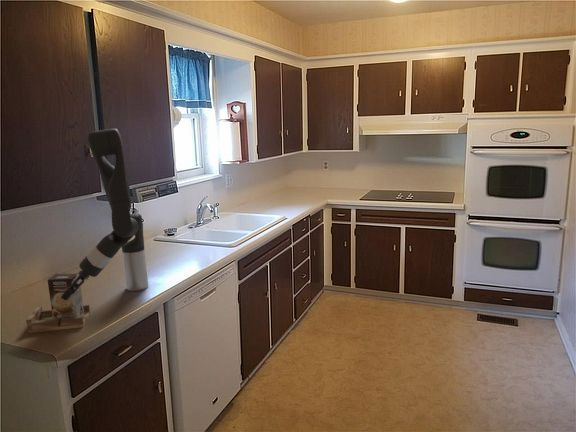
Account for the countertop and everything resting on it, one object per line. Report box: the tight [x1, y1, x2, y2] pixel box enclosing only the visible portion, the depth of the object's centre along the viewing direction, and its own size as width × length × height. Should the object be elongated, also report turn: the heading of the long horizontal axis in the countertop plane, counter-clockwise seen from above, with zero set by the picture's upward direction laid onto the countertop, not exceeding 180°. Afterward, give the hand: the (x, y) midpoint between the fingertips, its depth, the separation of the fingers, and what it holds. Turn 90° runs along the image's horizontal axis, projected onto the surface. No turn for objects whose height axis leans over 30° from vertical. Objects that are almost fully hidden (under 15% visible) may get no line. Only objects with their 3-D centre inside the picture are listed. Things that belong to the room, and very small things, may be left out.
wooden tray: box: [25, 304, 91, 334], centre depth 162 cm, size 12×18×5 cm, turn 102°
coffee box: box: [47, 272, 84, 321], centre depth 161 cm, size 9×6×16 cm
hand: (66, 294), depth 161 cm, fingers closed on coffee box, 7 cm apart
